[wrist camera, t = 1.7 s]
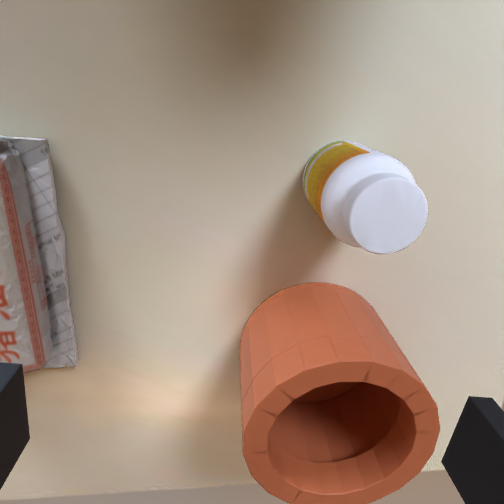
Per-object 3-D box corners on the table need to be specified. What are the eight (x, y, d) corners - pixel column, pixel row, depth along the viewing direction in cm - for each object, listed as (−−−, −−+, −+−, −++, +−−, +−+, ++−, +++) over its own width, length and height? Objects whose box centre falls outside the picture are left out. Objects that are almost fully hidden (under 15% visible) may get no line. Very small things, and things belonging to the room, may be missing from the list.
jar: (304, 253, 31) (337, 323, 21) (411, 333, 34) (479, 424, 25) (210, 359, 34) (203, 459, 24) (316, 422, 37) (345, 532, 28)
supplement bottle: (294, 209, 29) (323, 261, 20) (310, 134, 27) (349, 154, 18) (364, 218, 30) (423, 274, 21) (384, 146, 28) (459, 172, 19)
